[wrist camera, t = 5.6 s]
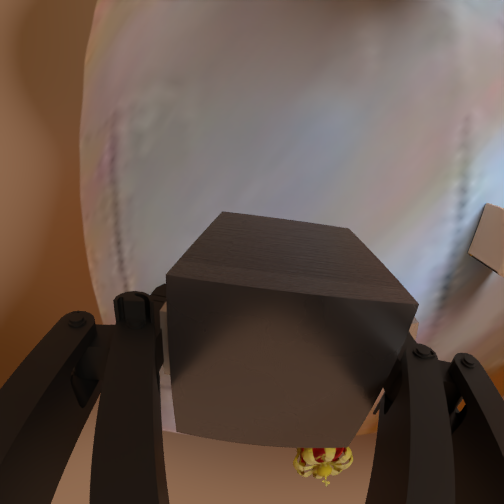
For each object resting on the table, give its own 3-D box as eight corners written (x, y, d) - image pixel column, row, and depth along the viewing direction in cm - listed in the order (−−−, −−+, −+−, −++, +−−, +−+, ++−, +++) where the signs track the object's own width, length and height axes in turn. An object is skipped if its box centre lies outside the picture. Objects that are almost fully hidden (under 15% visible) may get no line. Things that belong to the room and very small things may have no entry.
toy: (350, 391, 36) (370, 477, 22) (319, 418, 38) (327, 499, 24) (312, 375, 35) (322, 469, 21) (281, 404, 38) (281, 492, 24)
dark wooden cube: (222, 211, 14) (165, 274, 7) (348, 228, 14) (418, 304, 6) (214, 321, 16) (176, 431, 9) (323, 334, 16) (347, 447, 8)
